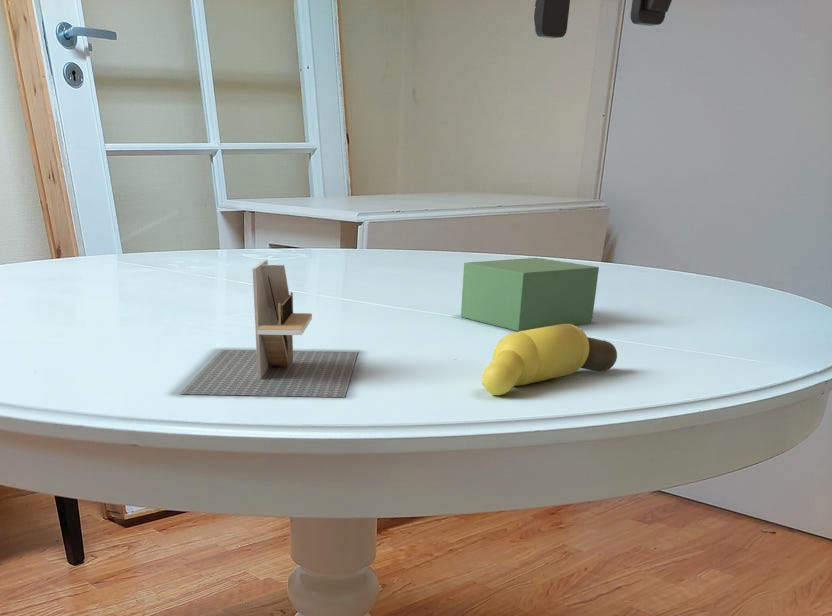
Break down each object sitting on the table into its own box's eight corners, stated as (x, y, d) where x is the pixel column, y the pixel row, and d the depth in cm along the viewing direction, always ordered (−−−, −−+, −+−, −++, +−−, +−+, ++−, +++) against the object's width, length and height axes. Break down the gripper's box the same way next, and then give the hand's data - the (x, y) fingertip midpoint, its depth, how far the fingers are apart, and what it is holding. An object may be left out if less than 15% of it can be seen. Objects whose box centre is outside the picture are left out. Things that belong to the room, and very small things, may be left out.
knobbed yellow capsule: (572, 345, 69) (598, 307, 66) (606, 382, 68) (633, 345, 65) (449, 369, 61) (472, 327, 59) (484, 412, 60) (510, 371, 57)
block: (531, 309, 92) (536, 257, 89) (592, 323, 85) (599, 266, 82) (460, 317, 88) (463, 262, 85) (518, 331, 81) (523, 272, 78)
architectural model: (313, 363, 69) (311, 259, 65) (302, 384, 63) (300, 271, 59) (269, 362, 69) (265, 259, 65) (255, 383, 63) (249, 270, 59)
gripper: (798, -360, 45) (726, 25, 53) (596, -265, 56) (562, 44, 64) (697, -405, 42) (637, 14, 49) (503, -295, 52) (479, 36, 60)
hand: (595, 31), depth 57 cm, fingers open, 8 cm apart
